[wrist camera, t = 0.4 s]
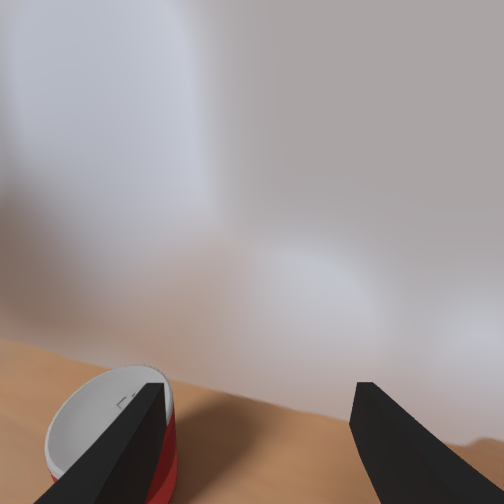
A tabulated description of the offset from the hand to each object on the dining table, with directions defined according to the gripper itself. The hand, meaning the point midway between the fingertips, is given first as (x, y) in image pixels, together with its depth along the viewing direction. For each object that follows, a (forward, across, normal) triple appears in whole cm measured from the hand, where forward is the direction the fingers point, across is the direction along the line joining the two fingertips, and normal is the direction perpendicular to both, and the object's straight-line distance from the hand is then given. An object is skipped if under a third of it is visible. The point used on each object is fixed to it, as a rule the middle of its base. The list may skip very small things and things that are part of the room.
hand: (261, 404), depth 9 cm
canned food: (+9, +10, +19) cm, 23 cm away
